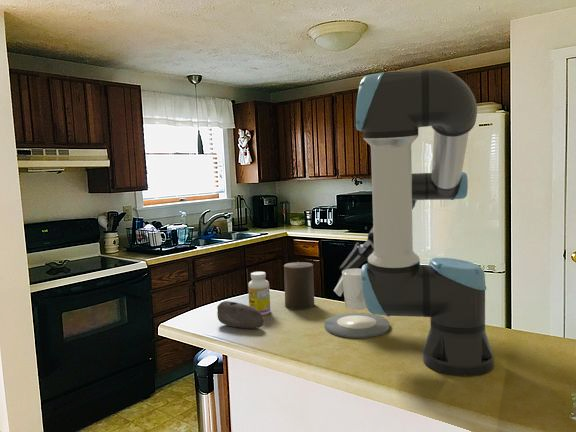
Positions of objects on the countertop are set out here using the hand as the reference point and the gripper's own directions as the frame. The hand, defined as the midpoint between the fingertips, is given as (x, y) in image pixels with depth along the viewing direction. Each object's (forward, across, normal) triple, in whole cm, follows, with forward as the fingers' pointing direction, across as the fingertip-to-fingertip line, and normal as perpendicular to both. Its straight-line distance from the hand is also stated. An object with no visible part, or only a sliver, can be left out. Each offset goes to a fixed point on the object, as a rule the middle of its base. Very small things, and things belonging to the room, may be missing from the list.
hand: (347, 296), depth 132 cm
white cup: (0, 0, -5) cm, 5 cm away
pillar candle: (+3, +27, -10) cm, 29 cm away
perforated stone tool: (+21, +23, +8) cm, 32 cm away
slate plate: (+5, 0, -9) cm, 10 cm away
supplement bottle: (+13, +30, 0) cm, 33 cm away
